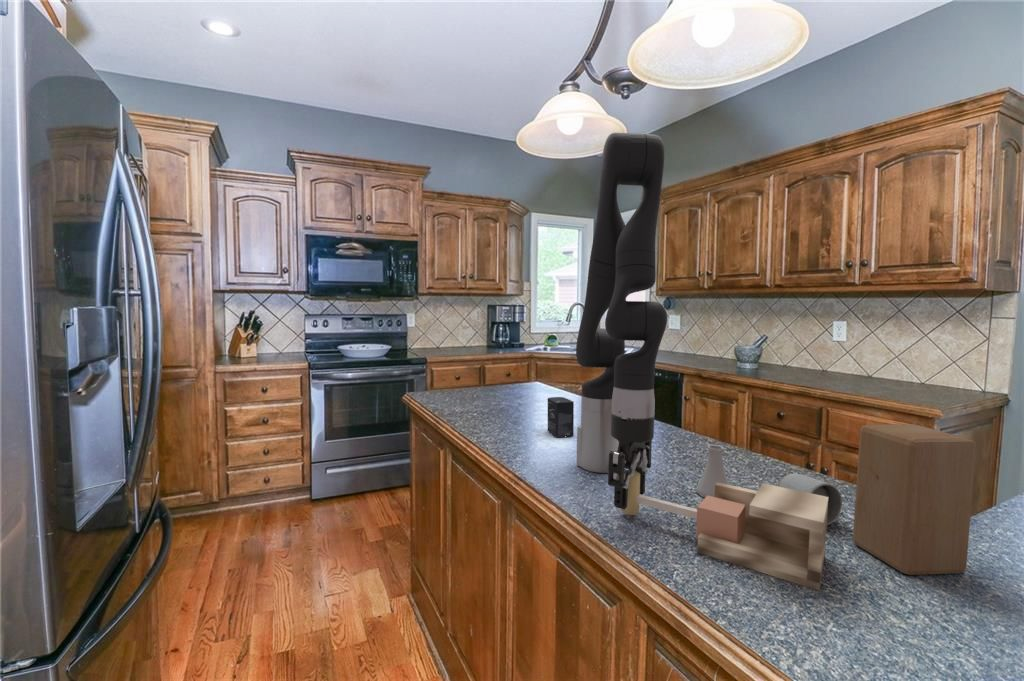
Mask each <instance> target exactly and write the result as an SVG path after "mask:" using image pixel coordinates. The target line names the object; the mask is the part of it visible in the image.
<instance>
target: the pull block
mask: <svg viewBox="0 0 1024 681" xmlns="http://www.w3.org/2000/svg"><path fill="white" fill-rule="evenodd" d="M624 479H625V475H624ZM627 488H628V502H627V508H626V509H620V511H621V512H622V513H623V514H625V515H630V516H633V515H634V516H635V515H639V513H640V505H644V506H647V507H650V508H655V509H658V510H662V511H664V512H669V513H672V514H676V515H679V516H683V517H687V518H691V519H694V520H696V527H695V528H696V529H695V537H696V538H698V536H699V535H700V533H702V534H705V535H708V536H712V537H715V538H719V539H722V540H726V541H729V542H733V543H736V544H739V543H740V541H741V539H742V538H743V536H744V530H745V510H746V505H745V504H741V503H737V502H733V501H729V500H725V499H720V498H716V497H712V496H708V495H707V496H706V497H704V498H703V499H702V501H701V502H700V503H699V504H698V506H696V508H693V507H690V506H686V505H683V504H682V505H681V504H678V503H674V502H670V501H667V500H663V499H658V498H655V497H652V496H647V495H644V494H642V495H641V494H640V473H638V472H636V471H635V472H634V476H633V477H631V478H630V480H629V484H628V487H627Z"/></svg>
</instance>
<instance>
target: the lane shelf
mask: <svg viewBox="0 0 1024 681" xmlns="http://www.w3.org/2000/svg"><path fill="white" fill-rule="evenodd" d="M714 497H716V498H720V499H725V500H729V501H733V502H737V503H741V504H745V505H746V510H745V530H744V536H743V538H742V539H741V541H740V543H739V544H736V543H733V542H729V541H726V540H722V539H719V538H715V537H712V536H708V535H705V534H702V533H700V535H699V536H698V537H697V546H696V547H697V550H696V552H697V553H698V554H701V555H705V556H707V557H710V558H714V559H717V560H721V561H724V562H727V563H730V564H733V565H736V566H740V567H742V568H745V569H750V570H753V571H755V572H758V573H762V574H765V575H769V576H772V577H775V578H777V579H781V580H784V581H788V582H790V583H794V584H798V585H800V586H804V587H806V588H810V589H813V590H817V591H820V590H821V582H822V576H823V573H824V572H823V570H824V564H825V558H826V545H827V544H826V543H827V530H828V529H827V528H828V525H827V514H828V497H826V496H821V495H816V494H812V493H807V492H802V491H797V490H793V489H788V488H783V487H778V485H774V484H773V485H772V484H769V483H762V484H761V486H760V487H759V489H758V490H754V489H749V488H744V487H741V486H737V485H731V484H729V485H728V484H723V483H719V482H717V483H716V484H715V494H714Z"/></svg>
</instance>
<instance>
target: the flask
mask: <svg viewBox="0 0 1024 681" xmlns="http://www.w3.org/2000/svg"><path fill="white" fill-rule="evenodd" d="M706 448H707V450H708V456H707V460H706V465H705V467H704V469H703V472H702V475H701V477H700V480H699V482H698V484H697V486H696V489H694V490H695V493H697V494H698V495H699V496H701V497H702V498H705V497H706V496H707V495H708V496H712V497H714V494H715V484H716V483H717V482H719V483H723V484H728V485H730V484H729V480H728V477H727V474H726V470H725V467H724V461H723V451H724V450H725V447H723V446H722V445H718V444H708V445H707V447H706Z"/></svg>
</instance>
